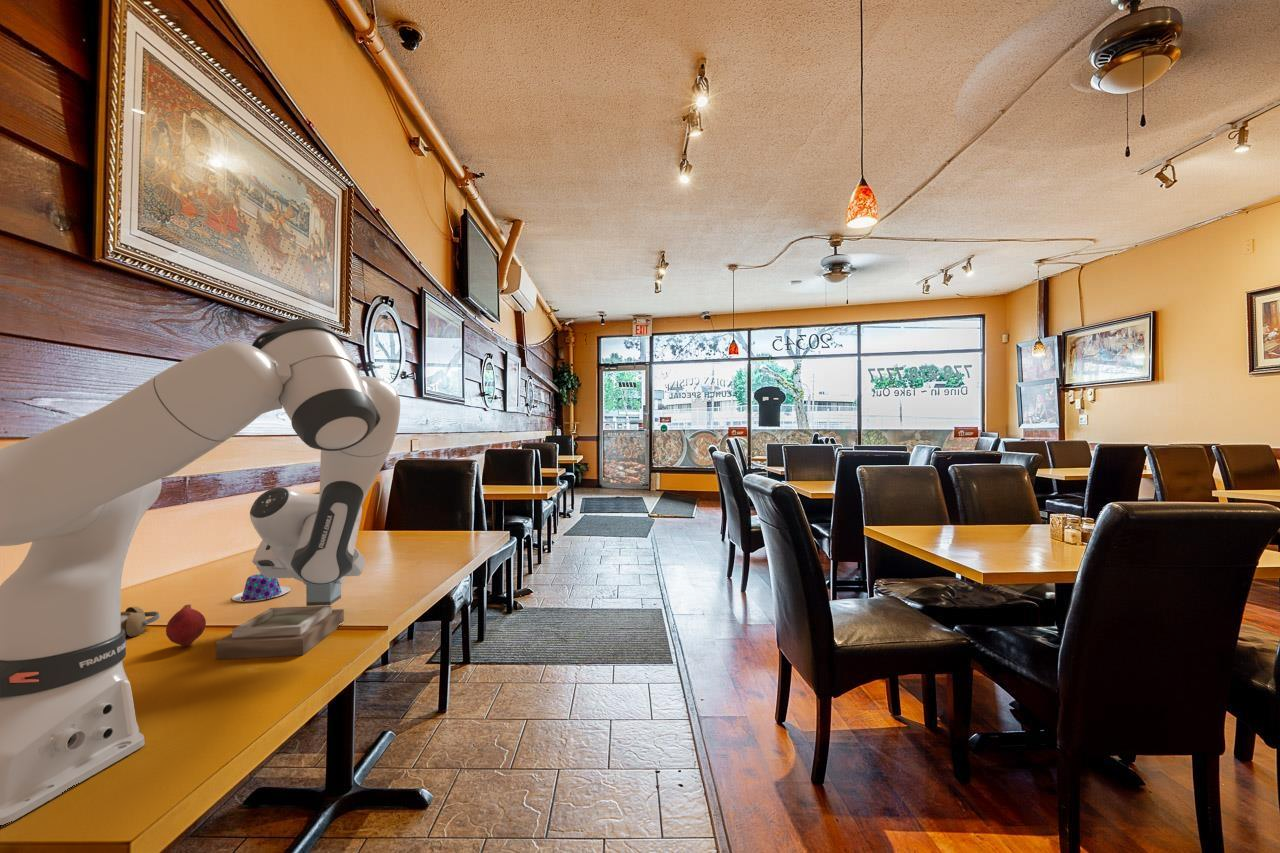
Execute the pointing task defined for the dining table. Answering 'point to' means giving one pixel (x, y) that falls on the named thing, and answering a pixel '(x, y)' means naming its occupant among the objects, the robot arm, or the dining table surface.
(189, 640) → the onion
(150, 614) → the alarm clock
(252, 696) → the dining table surface
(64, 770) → the robot arm
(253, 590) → the purple and white hat
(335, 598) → the light blue-grey block
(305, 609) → the tray
